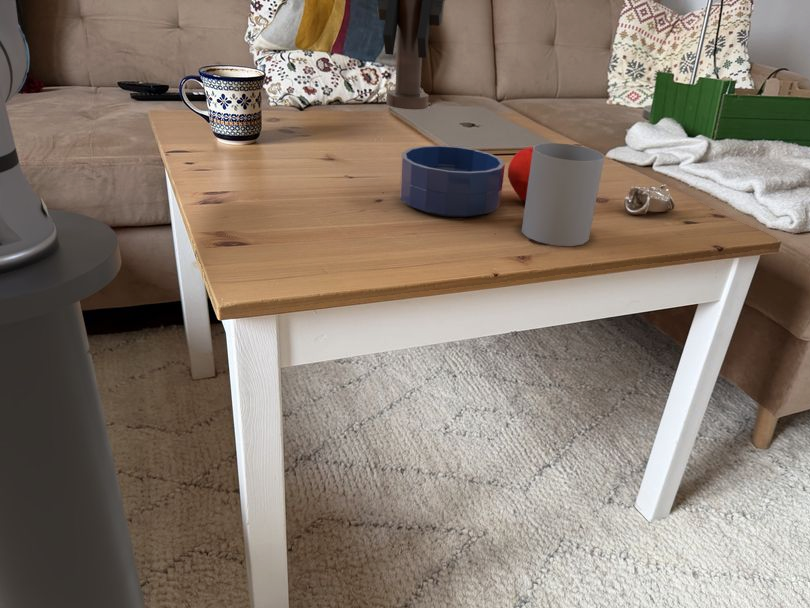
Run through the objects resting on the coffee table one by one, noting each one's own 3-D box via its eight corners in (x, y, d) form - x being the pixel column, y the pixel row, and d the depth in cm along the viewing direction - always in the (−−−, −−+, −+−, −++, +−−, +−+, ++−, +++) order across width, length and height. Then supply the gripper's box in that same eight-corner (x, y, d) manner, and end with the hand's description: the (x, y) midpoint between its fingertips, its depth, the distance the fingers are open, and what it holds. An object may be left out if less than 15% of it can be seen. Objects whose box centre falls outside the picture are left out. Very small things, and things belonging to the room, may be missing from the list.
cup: (548, 249, 78) (562, 163, 73) (508, 226, 84) (518, 144, 79) (602, 241, 82) (619, 159, 77) (560, 219, 88) (573, 141, 83)
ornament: (647, 200, 99) (653, 176, 97) (682, 215, 94) (689, 190, 93) (607, 205, 95) (612, 180, 94) (641, 221, 90) (647, 194, 89)
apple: (500, 190, 97) (506, 138, 93) (553, 193, 98) (561, 142, 94) (508, 208, 90) (515, 152, 86) (565, 211, 91) (575, 156, 87)
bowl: (402, 217, 83) (404, 169, 80) (397, 186, 94) (399, 142, 91) (507, 222, 85) (513, 175, 82) (489, 191, 96) (494, 148, 93)
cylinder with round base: (386, 108, 69) (391, -76, 61) (385, 100, 73) (390, -74, 65) (429, 110, 70) (439, -71, 62) (426, 102, 73) (435, -69, 65)
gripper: (501, -101, 75) (483, 79, 68) (362, -115, 75) (330, 64, 68) (507, -169, 67) (487, 26, 61) (352, -185, 67) (317, 9, 61)
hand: (405, 46), depth 65 cm, fingers closed on cylinder with round base, 3 cm apart
